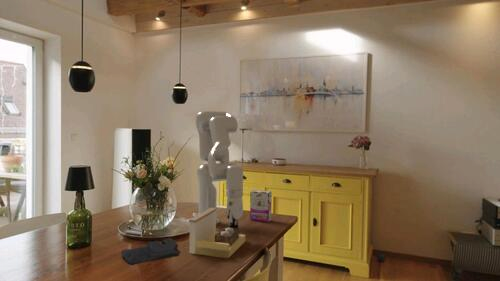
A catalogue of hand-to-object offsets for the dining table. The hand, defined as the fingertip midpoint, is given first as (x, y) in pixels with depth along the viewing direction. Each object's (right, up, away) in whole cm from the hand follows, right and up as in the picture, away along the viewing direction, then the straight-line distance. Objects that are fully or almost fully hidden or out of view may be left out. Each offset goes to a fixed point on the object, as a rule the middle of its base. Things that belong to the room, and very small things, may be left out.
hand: (234, 233), depth 161 cm
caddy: (-3, -2, -8) cm, 8 cm away
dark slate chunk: (-33, -5, -16) cm, 37 cm away
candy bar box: (+13, -3, +38) cm, 40 cm away
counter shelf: (-7, -4, -6) cm, 10 cm away
